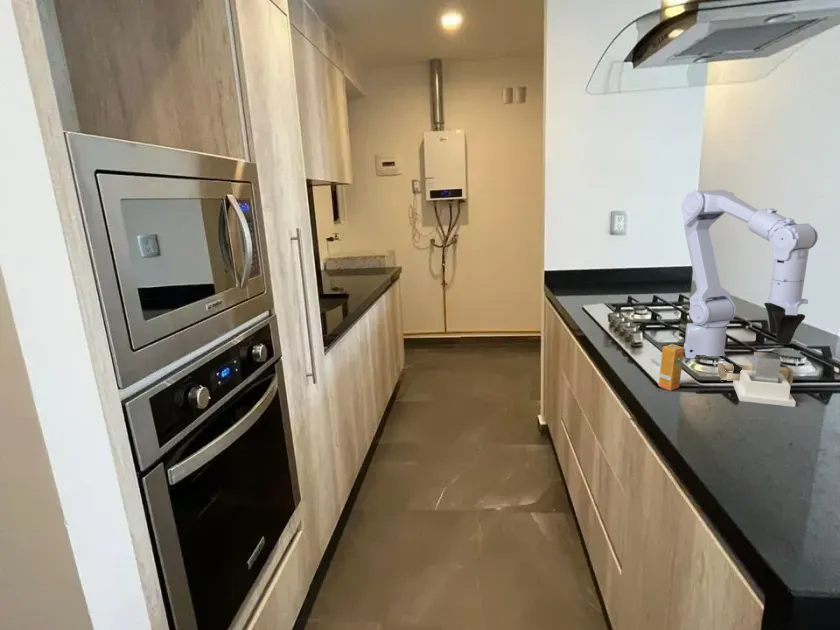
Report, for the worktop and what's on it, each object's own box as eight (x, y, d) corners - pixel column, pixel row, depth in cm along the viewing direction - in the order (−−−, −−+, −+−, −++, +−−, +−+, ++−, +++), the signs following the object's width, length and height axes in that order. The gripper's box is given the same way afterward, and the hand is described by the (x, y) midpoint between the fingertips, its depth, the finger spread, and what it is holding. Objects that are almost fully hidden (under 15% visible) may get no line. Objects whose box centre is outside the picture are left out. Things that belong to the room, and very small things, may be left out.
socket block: (721, 381, 113) (721, 373, 112) (717, 370, 120) (717, 362, 119) (762, 385, 109) (763, 377, 109) (755, 373, 116) (756, 365, 116)
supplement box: (671, 391, 109) (674, 349, 107) (658, 386, 112) (661, 345, 110) (681, 388, 110) (684, 346, 108) (667, 383, 113) (670, 343, 111)
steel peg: (753, 392, 103) (757, 357, 101) (750, 386, 107) (754, 351, 105) (776, 395, 102) (780, 359, 100) (771, 388, 105) (776, 353, 103)
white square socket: (739, 401, 102) (741, 383, 101) (732, 384, 111) (734, 367, 110) (795, 407, 98) (797, 388, 97) (783, 389, 107) (786, 372, 106)
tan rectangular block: (765, 381, 111) (767, 369, 110) (763, 377, 113) (764, 365, 113) (792, 383, 109) (793, 371, 108) (789, 380, 111) (791, 367, 110)
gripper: (820, 286, 98) (810, 349, 101) (802, 274, 110) (793, 331, 114) (777, 285, 101) (769, 346, 104) (764, 273, 113) (757, 328, 117)
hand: (779, 338), depth 109 cm, fingers open, 7 cm apart
